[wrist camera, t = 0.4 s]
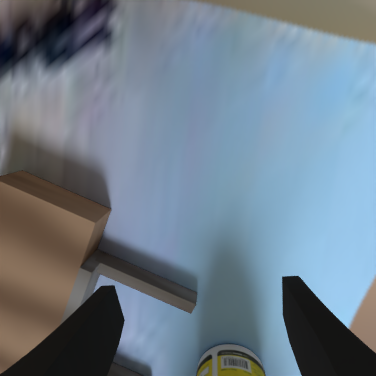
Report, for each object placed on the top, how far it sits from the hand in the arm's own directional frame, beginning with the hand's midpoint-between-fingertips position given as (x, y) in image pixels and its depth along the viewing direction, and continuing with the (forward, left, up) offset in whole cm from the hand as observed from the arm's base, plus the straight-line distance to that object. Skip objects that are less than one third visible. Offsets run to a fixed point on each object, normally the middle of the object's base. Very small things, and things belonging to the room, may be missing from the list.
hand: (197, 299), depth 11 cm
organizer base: (-13, +7, -10) cm, 18 cm away
